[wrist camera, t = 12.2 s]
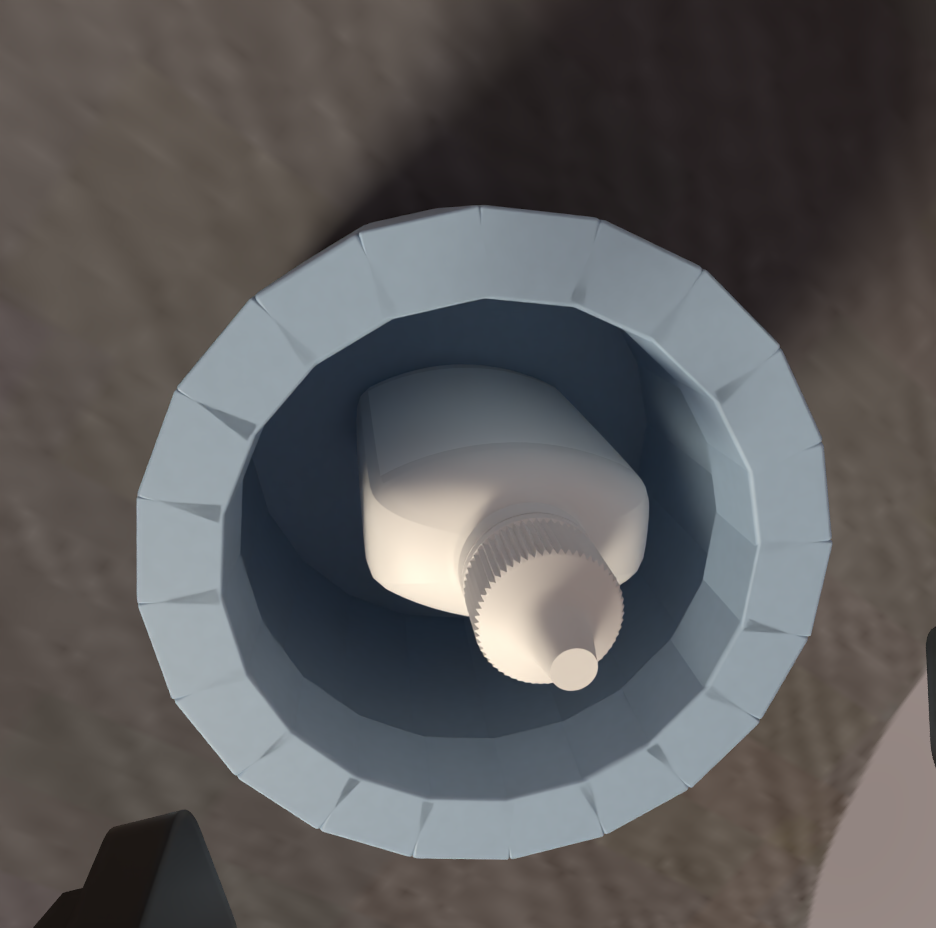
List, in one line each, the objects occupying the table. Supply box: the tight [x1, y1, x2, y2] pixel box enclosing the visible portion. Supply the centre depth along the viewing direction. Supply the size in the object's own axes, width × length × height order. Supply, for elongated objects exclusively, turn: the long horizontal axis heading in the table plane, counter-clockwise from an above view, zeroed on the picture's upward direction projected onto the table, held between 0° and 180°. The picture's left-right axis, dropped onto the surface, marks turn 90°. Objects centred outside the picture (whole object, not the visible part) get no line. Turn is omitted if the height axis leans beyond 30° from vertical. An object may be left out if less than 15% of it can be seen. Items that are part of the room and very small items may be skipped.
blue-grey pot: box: [137, 205, 832, 859], centre depth 19 cm, size 12×12×10 cm
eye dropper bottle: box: [356, 364, 649, 691], centre depth 18 cm, size 4×6×12 cm
